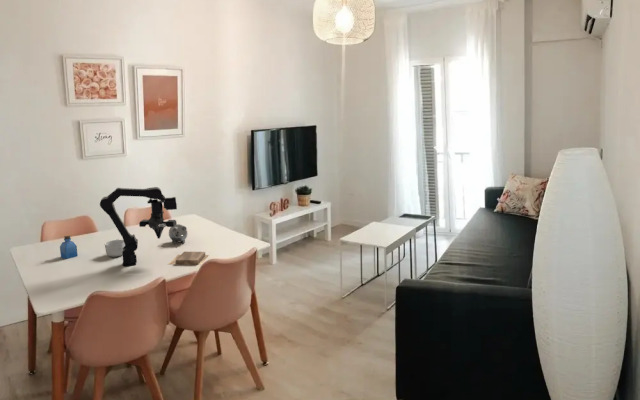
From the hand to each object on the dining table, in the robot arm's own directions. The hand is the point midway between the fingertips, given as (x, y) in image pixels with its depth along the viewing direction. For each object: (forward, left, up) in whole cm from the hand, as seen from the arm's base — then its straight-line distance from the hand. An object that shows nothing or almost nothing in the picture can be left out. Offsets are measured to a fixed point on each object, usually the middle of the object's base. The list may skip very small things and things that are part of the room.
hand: (159, 238), depth 267 cm
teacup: (-22, +22, -13) cm, 34 cm away
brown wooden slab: (+10, -4, -11) cm, 16 cm away
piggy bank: (+14, +33, -13) cm, 38 cm away
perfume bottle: (-47, +28, -13) cm, 56 cm away
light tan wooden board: (+15, -5, -13) cm, 20 cm away
